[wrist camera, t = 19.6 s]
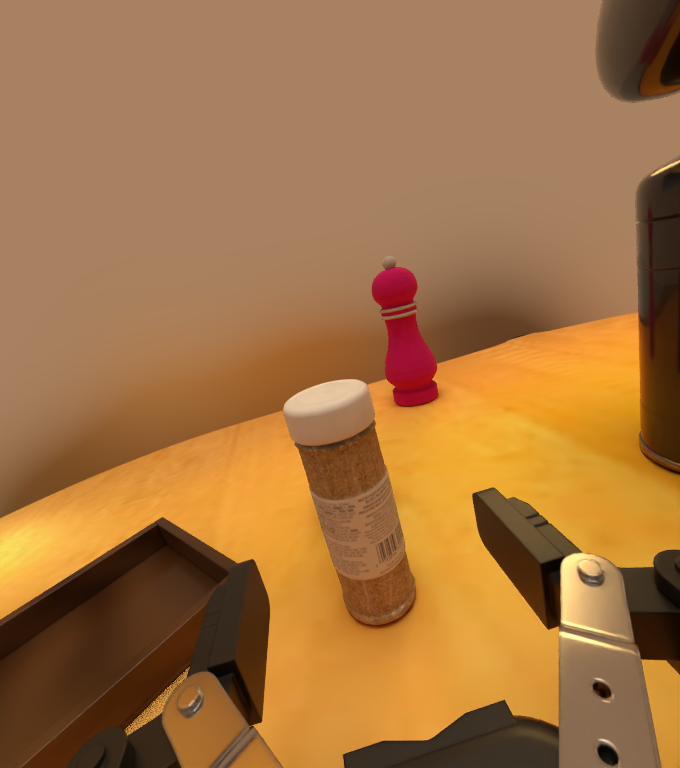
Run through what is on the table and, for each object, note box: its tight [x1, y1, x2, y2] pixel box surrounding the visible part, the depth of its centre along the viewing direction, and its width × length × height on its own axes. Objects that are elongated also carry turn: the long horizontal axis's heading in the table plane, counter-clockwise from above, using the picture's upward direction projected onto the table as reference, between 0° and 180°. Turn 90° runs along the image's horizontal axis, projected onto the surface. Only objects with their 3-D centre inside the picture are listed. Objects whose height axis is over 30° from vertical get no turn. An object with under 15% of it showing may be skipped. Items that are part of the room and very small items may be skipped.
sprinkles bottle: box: [283, 379, 416, 625], centre depth 20 cm, size 5×5×13 cm
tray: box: [0, 517, 238, 768], centre depth 23 cm, size 16×14×2 cm
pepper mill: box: [372, 256, 438, 406], centre depth 50 cm, size 7×7×20 cm
